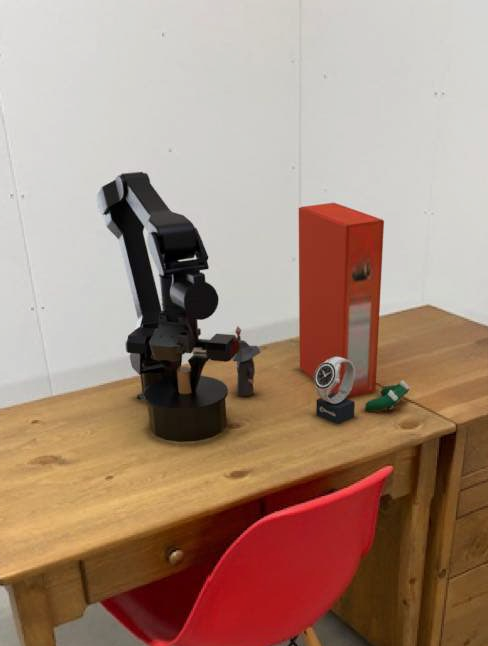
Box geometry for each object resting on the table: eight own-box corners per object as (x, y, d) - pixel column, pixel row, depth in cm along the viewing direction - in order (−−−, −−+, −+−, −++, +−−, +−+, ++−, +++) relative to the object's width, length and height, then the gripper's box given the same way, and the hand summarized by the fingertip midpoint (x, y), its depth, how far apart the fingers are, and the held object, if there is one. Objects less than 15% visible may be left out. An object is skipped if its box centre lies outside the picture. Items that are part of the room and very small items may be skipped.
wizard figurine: (266, 395, 155) (265, 335, 148) (242, 402, 152) (240, 341, 145) (242, 382, 160) (240, 323, 154) (219, 388, 158) (216, 329, 151)
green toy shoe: (373, 422, 148) (396, 406, 144) (361, 406, 147) (384, 389, 143) (393, 404, 154) (415, 388, 150) (381, 389, 154) (403, 372, 150)
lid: (126, 400, 139) (123, 372, 136) (186, 374, 148) (184, 348, 146) (186, 422, 131) (184, 393, 128) (245, 394, 141) (244, 366, 138)
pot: (135, 430, 142) (131, 396, 139) (188, 405, 151) (186, 373, 147) (189, 451, 135) (186, 416, 131) (242, 424, 144) (240, 391, 140)
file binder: (339, 399, 153) (345, 224, 135) (298, 369, 165) (298, 206, 148) (375, 391, 155) (385, 219, 138) (332, 363, 168) (336, 202, 151)
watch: (308, 418, 146) (309, 360, 140) (339, 405, 150) (341, 349, 144) (330, 427, 142) (331, 369, 136) (361, 414, 147) (363, 357, 141)
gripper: (105, 313, 126) (117, 404, 135) (216, 322, 122) (221, 415, 131) (134, 293, 135) (143, 379, 144) (238, 300, 131) (241, 389, 140)
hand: (186, 391), depth 139 cm, fingers closed on lid, 3 cm apart
